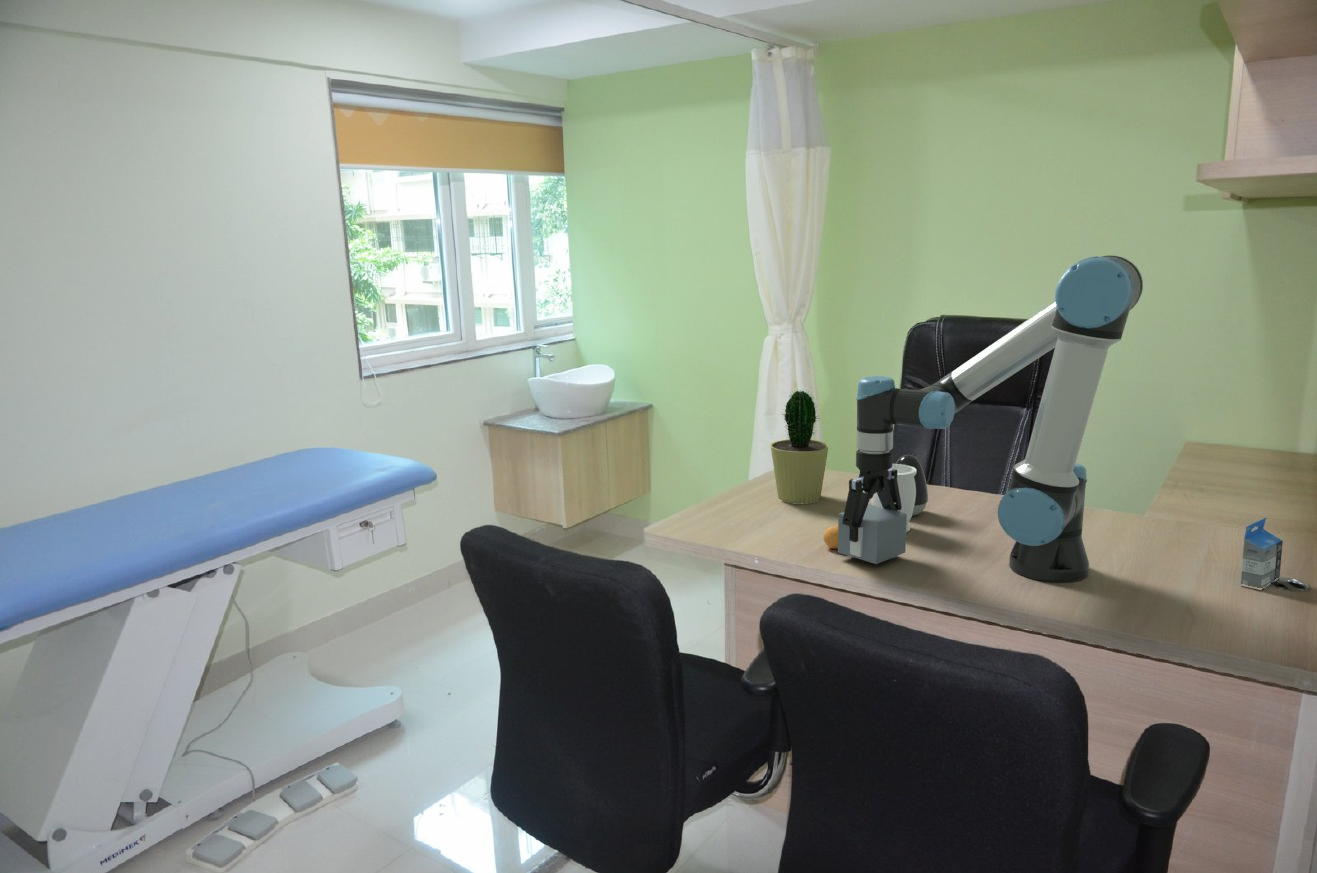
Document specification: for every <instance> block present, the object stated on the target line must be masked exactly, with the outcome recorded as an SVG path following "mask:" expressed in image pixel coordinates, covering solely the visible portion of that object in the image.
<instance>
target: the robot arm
mask: <svg viewBox="0 0 1317 873" xmlns="http://www.w3.org/2000/svg"><path fill="white" fill-rule="evenodd" d="M1143 282H1144V280H1143V277H1142V274H1141V272H1140V270H1139V268H1138V267H1137V265H1135V264H1134V263H1133V262H1132V261H1130V260H1128V259H1127V258H1125V257H1122V256H1118V255H1102V256H1091V257H1087V258H1084V259H1081V260H1079V261H1078V262H1077V261H1076V263H1073V265H1071V266H1070V267H1069V268H1067V270H1065V271H1064V272H1063V274H1062V275H1061V276H1060V278H1059V280H1058V282H1057V285H1056V286H1055V287H1056V288H1055V292H1054V293H1055V294H1054V299H1055V300H1054V301H1053V302H1051V303H1050V304H1049V305H1047V306H1045V307H1043V308H1042V309H1040V310H1039V311H1038V312H1037V313H1035V314H1034V315H1032V316H1030V317H1029V318H1028V319H1027V320H1025V321H1023V322H1022V323H1021V324H1019V325H1018V326H1016V327H1015V328H1013V329H1012V330H1011V331H1009V332H1008V333H1006V334H1005V335H1003V336H1002V337H1000V338H999V339H998V340H996V341H995V342H993V343H992V344H990V345H989V346H986V348H985V349H983V350H982V351H980V352H979V353H977V354H976V355H975V356H973V357H971V358H970V359H969V360H967V361H966V362H964V363H963V364H961V365H960V366H959V367H957V368H956V369H954V370H952V371H951V372H950V373H948V374H946V376H944V377H942V378H940V379H939V380H937V381H936V382H935V383H933V384H931V385H928V386H927V387H926V386H925V387H923V388H921V389H905V388H904V389H903V388H898V387H897V388H896V385H895V380H894V379H893V378H892V377H889V376H878V375H877V376H866V377H865V376H864V377H862V378H861V379H859V381H858V384H857V393H856V394H857V397H856V448H857V450H856V451H855V466H856V468H857V469H858V470H859V474H858V475H859V476H858V478H855V479H854V478H849V480H848V493H847V498H846V503H845V509H844V511H843V512H844V516H843V521H842V523H843V524H844V525H847V526H849V528H850V529H849V534H850V535H849V539H850V554H852V555H855V556H858V557H862V548H863V527H861V526H860V525H861V522H862V520H863V517H864V514H865V511H866V509H867V506H868V504H870V503H869V502H870V501H871V498H873V495H874V494H875V493H876V492H877V494H878V497H879V499H880V502H881V504H882V507H883V508H886V509H890V510H894V511H898V510H901V509H902V505H901V499H900V493H899V488H898V482H897V473H898V471H897V470H895V469H891V467H892V464H893V452H892V450H893V449H894V425H895V426H904V427H912V428H913V427H914V428H922V429H923V428H924V429H928V430H934V429H938V430H945V429H948V428H950V426H951V423H952V422H953V420H954V416H955V414H957V413H958V412H960V411H961V410H963V408H964V407H965V406H967V405H969V404H970V403H972V402H973V401H974V400H976V399H978V398H979V397H981V396H982V395H984V394H985V393H986V392H989V391H991V389H993V388H994V387H996V386H998V385H999V384H1001V383H1002V382H1004V381H1006V380H1007V379H1009V378H1010V377H1012V376H1013V375H1014V374H1016V373H1018V372H1019V371H1021V370H1022V369H1024V368H1025V367H1027V366H1028V365H1030V364H1031V363H1034V362H1035V361H1037V359H1040V358H1041V357H1042V356H1044V355H1046V353H1048V352H1050V351H1052V350H1053V349H1054V351H1053V355H1052V358H1051V362H1050V365H1049V370H1048V373H1047V377H1046V380H1045V385H1044V388H1043V392H1042V395H1041V398H1040V402H1039V406H1038V411H1037V413H1036V417H1035V420H1034V425H1033V428H1032V432H1031V436H1030V440H1029V443H1028V448H1027V452H1026V454H1025V457H1024V459H1023V460H1021V461H1020V462H1018V463H1015V465H1014V467H1013V470H1012V474H1011V478H1010V482H1009V483H1008V484H1009V486H1008V489H1007V492H1006V493H1005V494H1004V495H1003V496H1002V497H1001V499H1000V501H999V503H998V506H997V519H998V523H999V525H1000V526H1001V528H1002V529H1003V531H1004V533H1005V534H1006V535H1007V536H1008V537H1009V538H1010V539H1012V540H1014V541H1015V542H1014V544H1013V547H1012V548H1011V551H1010V554H1009V559H1008V560H1009V561H1008V562H1009V564H1008V566H1009V568H1010V569H1011V570H1012V571H1013V572H1015V573H1016V574H1019V575H1020V576H1023V577H1026V578H1029V579H1032V580H1038V581H1044V582H1050V583H1051V582H1052V583H1069V582H1070V583H1071V582H1076V581H1082V580H1083V579H1086V578H1087V577H1088V576H1089V570H1090V563H1089V557H1088V555H1087V551H1086V547H1085V544H1084V541H1083V526H1084V525H1083V524H1084V523H1083V522H1084V511H1085V502H1086V501H1085V498H1086V487H1087V486H1086V485H1087V483H1088V479H1087V469H1086V467H1085V466H1084V465H1082V464H1079V463H1076V462H1077V458H1078V457H1079V456H1078V455H1079V452H1080V448H1081V446H1082V442H1083V438H1084V435H1085V431H1086V429H1087V428H1086V427H1087V424H1088V421H1089V417H1090V414H1091V410H1092V407H1093V404H1094V400H1095V396H1096V393H1097V390H1098V386H1099V382H1100V379H1101V377H1102V376H1101V375H1102V373H1103V370H1104V369H1103V368H1104V365H1105V362H1106V359H1107V356H1108V353H1109V348H1111V347H1112V346H1113V345H1115V344H1117V343H1118V342H1120V341H1121V340H1122V337H1123V334H1124V331H1125V328H1126V324H1127V320H1128V318H1129V313H1130V311H1131V310H1132V309H1134V308H1135V306H1136V305H1137V304H1138V302H1139V301H1140V299H1141V297H1142V296H1141V295H1142V294H1143V289H1144V283H1143ZM894 503H896V504H894ZM898 512H900V511H898ZM848 519H849V520H848Z"/></svg>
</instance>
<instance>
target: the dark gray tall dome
mask: <svg viewBox="0 0 1317 873" xmlns="http://www.w3.org/2000/svg"><path fill="white" fill-rule="evenodd" d="M895 464H902V465H907V466H911V467H914V468H915V469H916V475H915V476H914V479H915V485H916V498H915V504H914V508H913V514H912V517H914V516H918V515H920V514H921V513H922V512H924V510H925V509H926V506H927V503H928V502H929V492H928V485H927V480H926V475H925V472H924V469H923V466H922V465H921V462H920V461H919V459H918V458H917V454H915V453H912V455H911V454H904V455H902V456H900V457H899V458H898V459H897V461H896V462H895Z"/></svg>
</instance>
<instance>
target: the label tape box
mask: <svg viewBox="0 0 1317 873" xmlns="http://www.w3.org/2000/svg"><path fill="white" fill-rule="evenodd" d="M1266 520H1267V517H1264V518H1262V519H1259V520H1256V521H1255V522H1252V523H1250V524H1248V525H1246V527H1245V531H1244V536H1243V548H1242V558H1241V559H1242V561H1241V572H1240V585H1241V584H1245V585H1248V586H1252V587H1257V588H1263V587H1266V586H1267V585H1268V584H1269V583H1270V582H1273V581H1274V580H1275V579H1276V578H1279V579H1280V576H1281V566H1282V565H1281V564H1282V554H1283V545H1284V544H1283V540H1282V539H1280V537H1277V536H1276V535H1274V534H1272V533H1271V532H1269V531H1267V529H1266V530H1265V529H1264V527H1265V524H1266ZM1255 528H1256V529H1255ZM1253 529H1254V530H1253Z"/></svg>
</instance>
